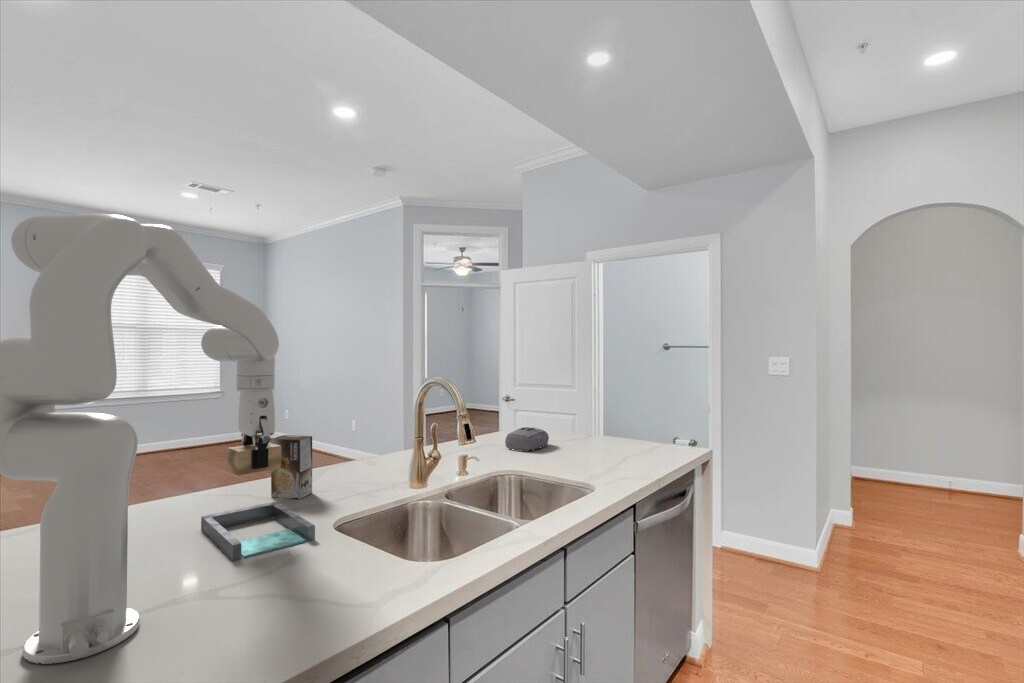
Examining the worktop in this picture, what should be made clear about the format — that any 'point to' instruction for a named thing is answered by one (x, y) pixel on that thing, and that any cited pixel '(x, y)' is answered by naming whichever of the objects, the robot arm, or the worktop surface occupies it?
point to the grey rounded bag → (526, 439)
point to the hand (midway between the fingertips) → (254, 464)
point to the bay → (260, 544)
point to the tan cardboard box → (242, 459)
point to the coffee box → (293, 467)
